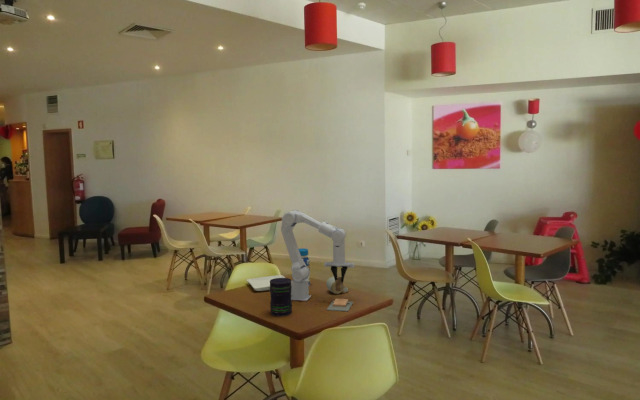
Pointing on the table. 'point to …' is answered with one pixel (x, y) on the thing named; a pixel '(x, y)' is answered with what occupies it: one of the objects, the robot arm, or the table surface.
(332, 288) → the ceramic mug
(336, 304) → the tile
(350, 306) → the mat
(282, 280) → the storage jar
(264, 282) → the salad plate
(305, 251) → the beverage bottle
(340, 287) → the bar
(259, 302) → the table surface
